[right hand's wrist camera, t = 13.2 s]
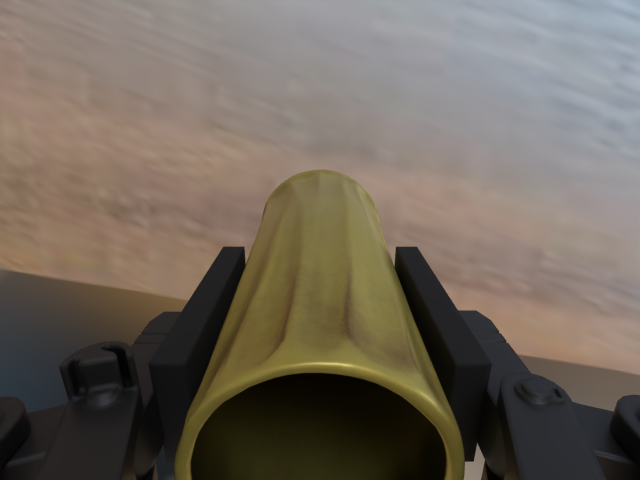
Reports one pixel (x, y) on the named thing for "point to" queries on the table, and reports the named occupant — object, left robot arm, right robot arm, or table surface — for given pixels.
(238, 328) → the gold fluted cup
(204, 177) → the table surface
